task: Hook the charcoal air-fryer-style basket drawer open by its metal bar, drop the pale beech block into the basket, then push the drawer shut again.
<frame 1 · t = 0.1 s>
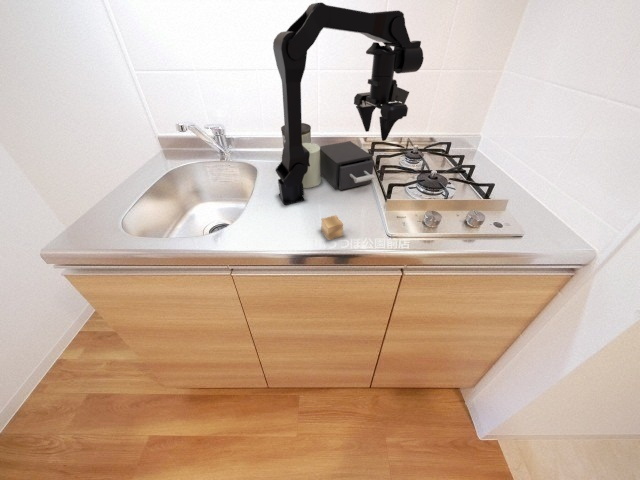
hand: (375, 135, 76), 15 cm above the counter, tool pointing down, fingers open, 9 cm apart
block: (332, 233, 64), on the counter
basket: (350, 170, 82), point 5 cm above the counter, slide at 1.0 cm
coffee can: (299, 166, 96), on the counter
can: (307, 181, 86), on the counter
fryer: (342, 176, 88), on the counter
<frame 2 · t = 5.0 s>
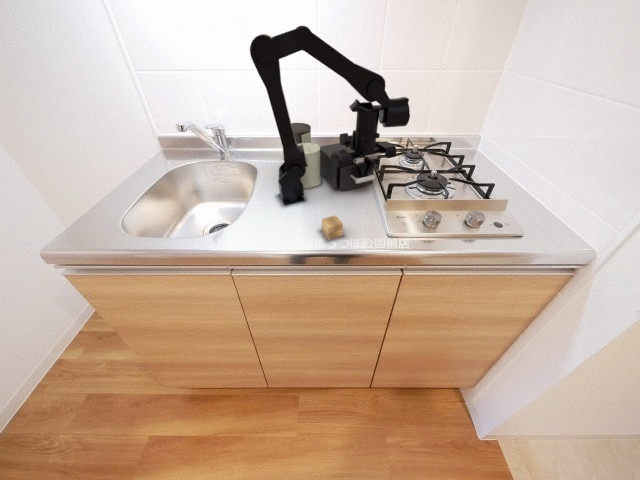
hand: (361, 181, 77), 4 cm above the counter, tool pointing down, fingers closed, pressing on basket
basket: (351, 170, 81), point 5 cm above the counter, slide at 1.5 cm, touching gripper
everything else where it was.
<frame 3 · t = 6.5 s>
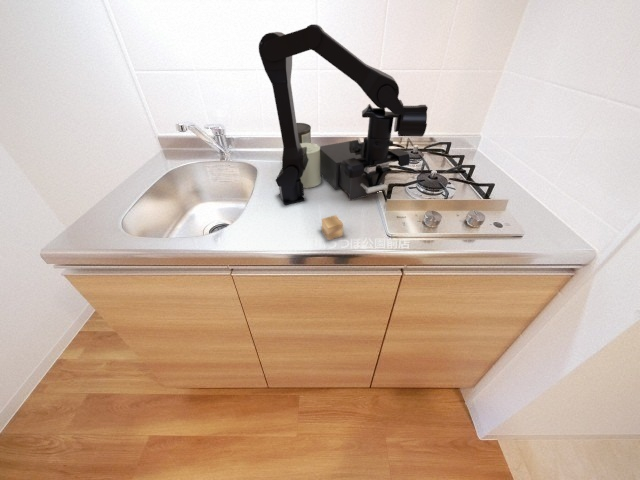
hand: (372, 190, 73), 4 cm above the counter, tool pointing down, fingers closed, pressing on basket
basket: (360, 178, 77), point 5 cm above the counter, slide at 7.6 cm, touching gripper
everything else where it was.
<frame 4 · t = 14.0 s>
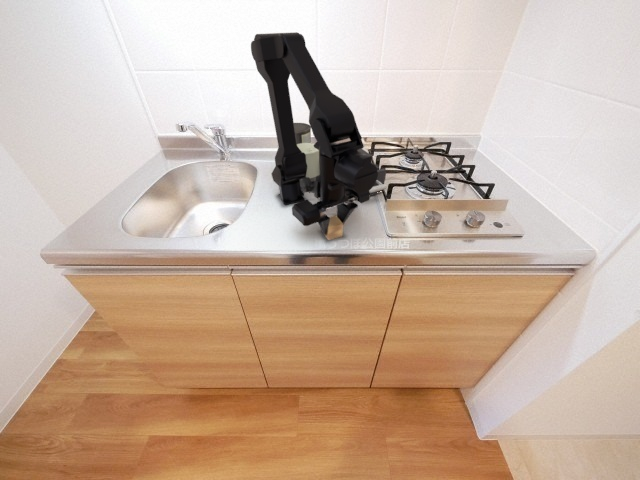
hand: (332, 230, 64), 1 cm above the counter, tool pointing down, fingers closed on block, 4 cm apart
block: (332, 233, 64), on the counter, touching gripper
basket: (360, 178, 77), point 5 cm above the counter, slide at 7.6 cm
everything else where it was.
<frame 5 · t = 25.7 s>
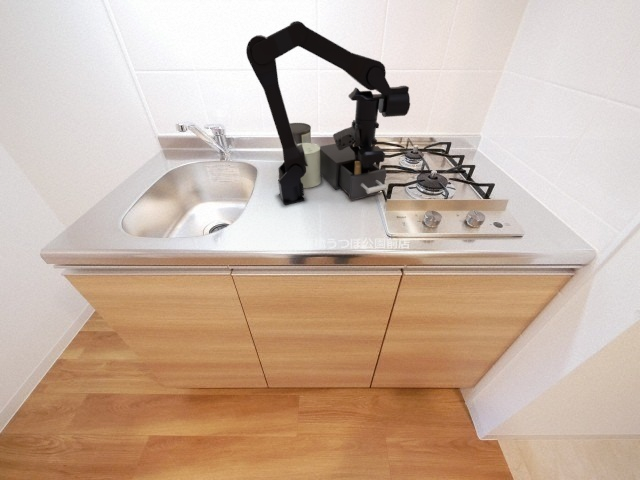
hand: (360, 173, 76), 6 cm above the counter, tool pointing down, fingers closed on block, 4 cm apart
block: (360, 176, 77), point 5 cm above the counter, touching gripper
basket: (361, 179, 77), point 5 cm above the counter, slide at 7.8 cm, touching gripper
everything else where it was.
when the fingers open (9 cm above the counter, at t = 31.4 s): block drops 6 cm, resting on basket.
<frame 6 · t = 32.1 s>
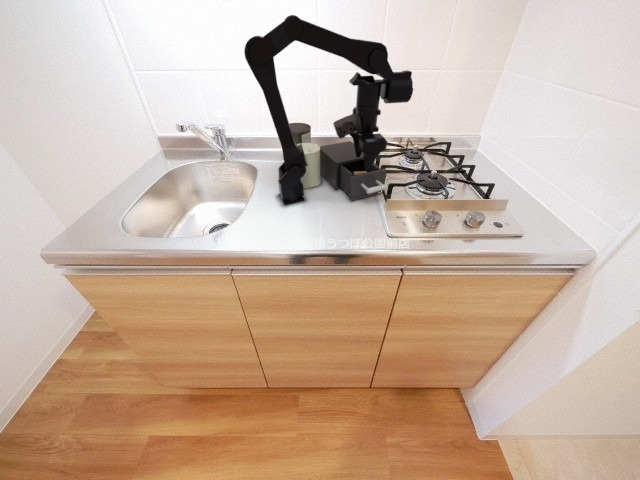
hand: (362, 163, 74), 9 cm above the counter, tool pointing down, fingers open, 9 cm apart
block: (360, 186, 79), point 2 cm above the counter, touching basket
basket: (361, 179, 77), point 5 cm above the counter, slide at 7.8 cm, touching block
everything else where it was.
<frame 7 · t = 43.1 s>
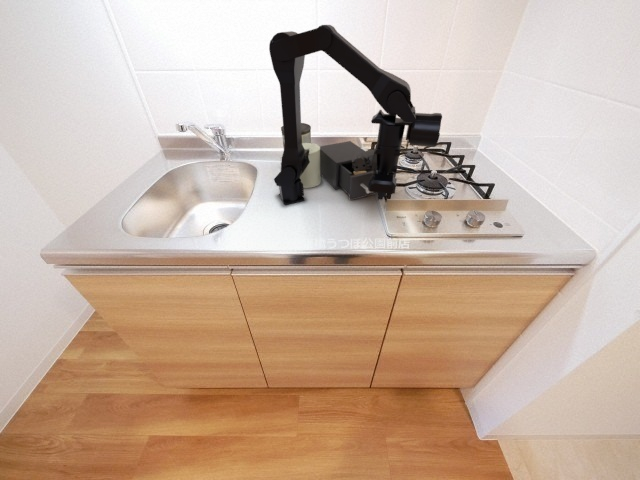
hand: (380, 199, 70), 3 cm above the counter, tool pointing down, fingers closed
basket: (360, 178, 77), point 5 cm above the counter, slide at 7.5 cm, touching block, gripper
everything else where it was.
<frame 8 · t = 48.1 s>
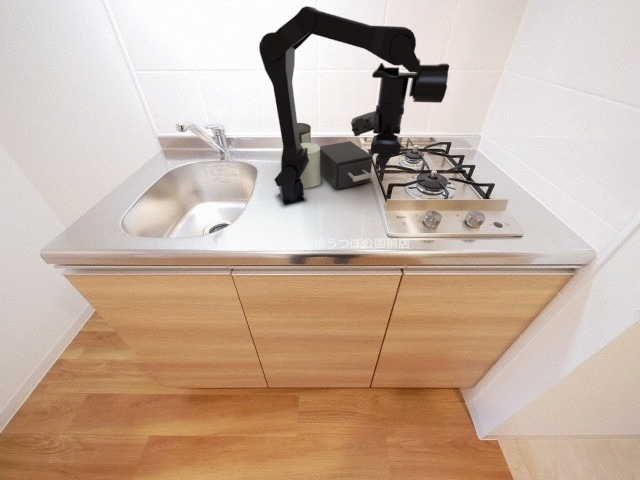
hand: (381, 167, 66), 12 cm above the counter, tool pointing down, fingers closed
block: (348, 175, 84), point 2 cm above the counter, touching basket
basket: (349, 169, 82), point 5 cm above the counter, slide at 0.0 cm, touching block, fryer
everything else where it was.
at the end: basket pulled out 7.8 cm at the most during the clip, back to where it started at the end; block inside the target area in the fryer (3.7 cm from its centre), point 2.0 cm above the fryer's base; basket slide at 0.0 cm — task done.
